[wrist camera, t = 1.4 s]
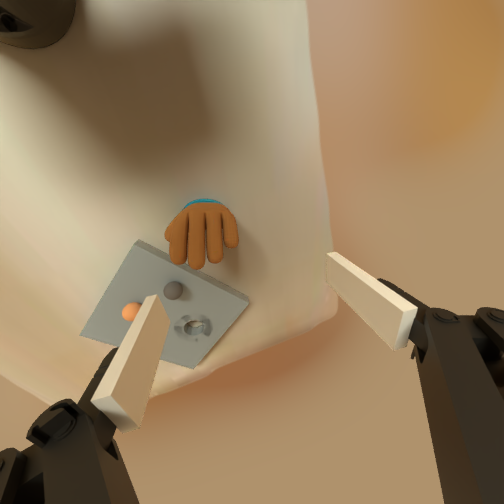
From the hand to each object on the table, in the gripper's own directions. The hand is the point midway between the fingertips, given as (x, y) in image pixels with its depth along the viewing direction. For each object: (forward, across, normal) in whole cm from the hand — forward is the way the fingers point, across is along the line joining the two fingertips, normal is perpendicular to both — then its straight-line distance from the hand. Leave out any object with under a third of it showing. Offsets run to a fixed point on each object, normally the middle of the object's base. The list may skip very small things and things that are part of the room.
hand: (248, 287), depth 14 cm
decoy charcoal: (+20, -13, -11) cm, 26 cm away
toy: (+24, -5, +1) cm, 25 cm away
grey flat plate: (+24, -17, -18) cm, 35 cm away
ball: (+20, -22, -13) cm, 32 cm away
